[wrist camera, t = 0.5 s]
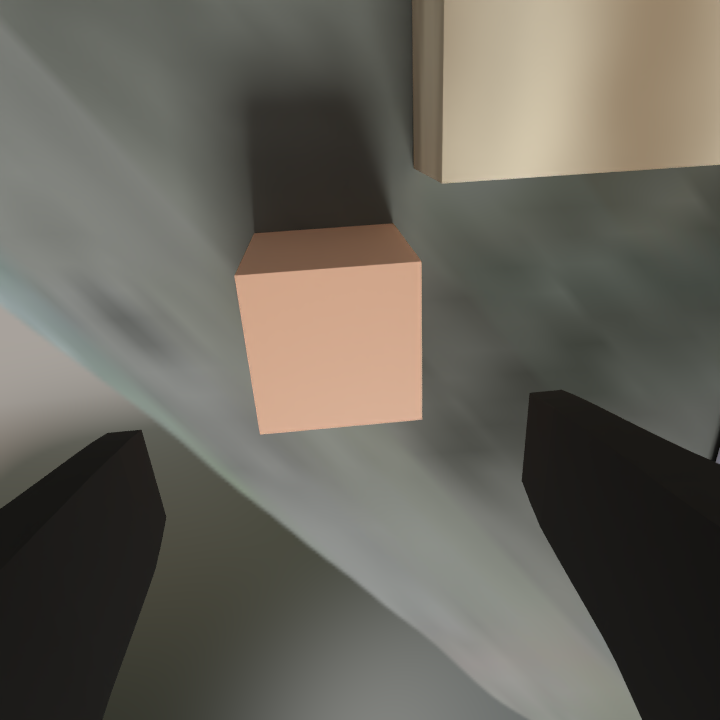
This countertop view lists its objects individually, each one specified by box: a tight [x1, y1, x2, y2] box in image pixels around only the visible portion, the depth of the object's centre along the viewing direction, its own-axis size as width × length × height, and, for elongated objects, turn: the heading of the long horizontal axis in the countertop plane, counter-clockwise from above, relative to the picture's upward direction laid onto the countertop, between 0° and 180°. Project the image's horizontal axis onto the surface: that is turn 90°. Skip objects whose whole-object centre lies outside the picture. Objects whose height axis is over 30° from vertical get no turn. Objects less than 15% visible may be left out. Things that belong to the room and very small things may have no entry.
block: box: [235, 223, 422, 434], centre depth 16 cm, size 5×5×5 cm
